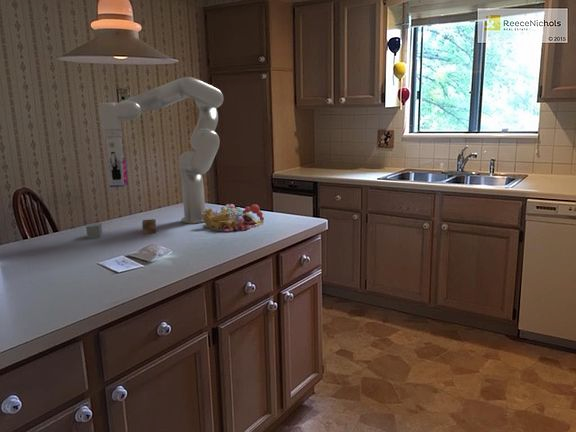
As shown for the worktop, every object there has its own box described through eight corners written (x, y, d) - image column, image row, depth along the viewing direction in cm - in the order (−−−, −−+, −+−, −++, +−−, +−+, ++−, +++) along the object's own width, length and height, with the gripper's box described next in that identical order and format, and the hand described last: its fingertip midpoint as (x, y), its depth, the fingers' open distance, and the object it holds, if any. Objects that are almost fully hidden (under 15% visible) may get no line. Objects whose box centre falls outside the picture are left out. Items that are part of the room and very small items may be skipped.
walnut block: (156, 230, 208) (155, 219, 207) (155, 233, 203) (154, 221, 202) (144, 231, 207) (143, 220, 206) (143, 234, 202) (142, 222, 201)
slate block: (102, 234, 204) (101, 223, 203) (100, 237, 199) (98, 225, 198) (90, 235, 203) (88, 223, 202) (87, 238, 198) (86, 226, 197)
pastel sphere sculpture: (236, 235, 196) (235, 213, 194) (193, 229, 209) (191, 208, 206) (271, 222, 217) (270, 201, 215) (229, 217, 229) (228, 197, 227)
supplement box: (123, 186, 196) (120, 158, 194) (109, 187, 196) (105, 158, 194) (128, 184, 202) (125, 156, 199) (114, 184, 202) (110, 157, 199)
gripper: (119, 134, 187) (125, 180, 191) (125, 132, 203) (130, 174, 207) (98, 136, 185) (105, 182, 190) (106, 133, 202) (111, 175, 206)
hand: (118, 177), depth 199 cm, fingers closed on supplement box, 6 cm apart
